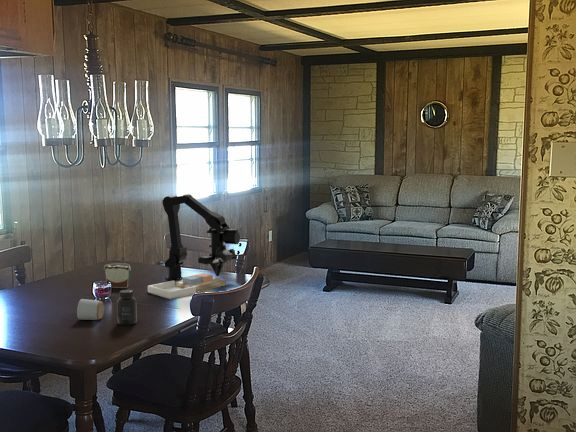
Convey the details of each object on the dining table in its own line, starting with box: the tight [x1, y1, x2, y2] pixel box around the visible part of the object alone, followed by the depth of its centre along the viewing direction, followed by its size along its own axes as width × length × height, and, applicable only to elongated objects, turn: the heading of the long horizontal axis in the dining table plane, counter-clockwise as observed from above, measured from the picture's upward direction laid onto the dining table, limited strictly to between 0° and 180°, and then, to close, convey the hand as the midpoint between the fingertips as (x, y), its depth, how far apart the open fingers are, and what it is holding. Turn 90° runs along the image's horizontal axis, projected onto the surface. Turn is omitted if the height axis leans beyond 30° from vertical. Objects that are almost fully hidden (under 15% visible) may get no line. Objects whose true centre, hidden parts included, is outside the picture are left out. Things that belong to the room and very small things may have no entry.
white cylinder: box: [76, 298, 105, 321], centre depth 241 cm, size 11×8×8 cm
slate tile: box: [181, 274, 202, 285], centre depth 287 cm, size 6×6×2 cm
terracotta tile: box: [194, 272, 214, 283], centre depth 292 cm, size 6×6×2 cm
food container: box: [103, 262, 132, 289], centre depth 291 cm, size 12×6×10 cm, turn 84°
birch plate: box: [175, 276, 227, 293], centre depth 291 cm, size 14×18×2 cm
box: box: [147, 280, 197, 300], centre depth 279 cm, size 16×14×3 cm
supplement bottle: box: [116, 289, 138, 326], centre depth 235 cm, size 7×7×12 cm
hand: (217, 276), depth 298 cm, fingers closed
